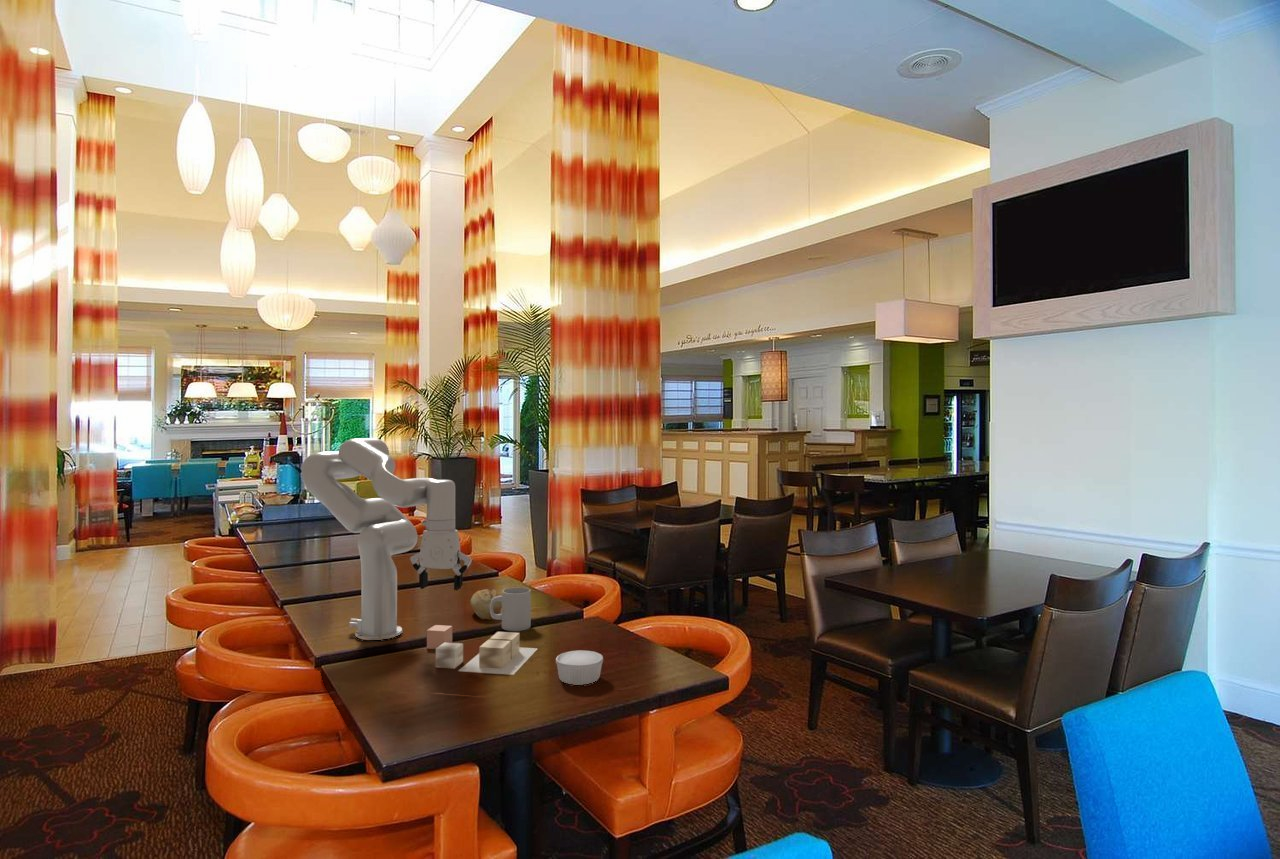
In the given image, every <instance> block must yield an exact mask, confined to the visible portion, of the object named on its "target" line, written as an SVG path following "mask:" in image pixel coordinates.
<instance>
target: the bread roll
mask: <svg viewBox="0 0 1280 859" xmlns="http://www.w3.org/2000/svg"><path fill="white" fill-rule="evenodd" d="M497 596H501V594H500V593H499V591H497V590H496V589H493V588H490V589H488V588H485V589H481V590H477V591H475V593H473V594H472V596H471V599H470V601H469V602H470V606H471V607H472V609H473V611H474V613H475V614H476V616H477V617H478V618H480V619H481V620H484V619H491V620H494V619H493V618H492V617H491V614H490V603H491V600H492V599H493V598H494V597H497ZM493 612H494V613H495V614H501V612H502V602H495V603H494V605H493Z"/></svg>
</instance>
